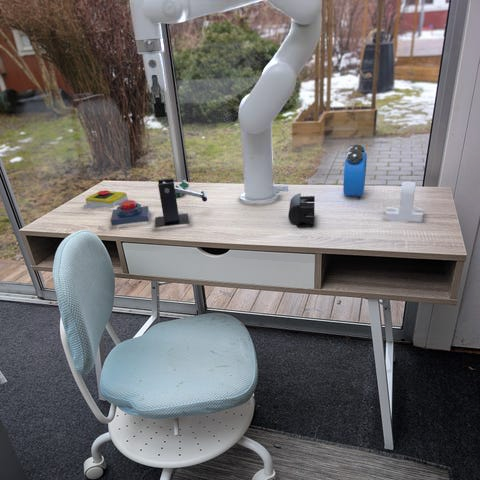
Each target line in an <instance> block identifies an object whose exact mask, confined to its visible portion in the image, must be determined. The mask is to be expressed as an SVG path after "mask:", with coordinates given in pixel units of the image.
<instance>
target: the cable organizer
mask: <svg viewBox="0 0 480 480" xmlns="http://www.w3.org/2000/svg"><path fill="white" fill-rule="evenodd" d="M416 185H417V182H416V181H402V182H401V187H400V189H401V190H400V197H399V205H398V206H387V207H386V211H385V216H384V220H386V221H399V222H401V221H402V222H414V223H415V222H418V223H422V222H423V219H424V211H425V209H424V208H423V207H414V200H415V194H416V193H415V192H416Z"/></svg>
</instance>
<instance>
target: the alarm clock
mask: <svg viewBox="0 0 480 480" xmlns="http://www.w3.org/2000/svg"><path fill="white" fill-rule="evenodd" d="M365 150H366V149H365V147H364V146H363V145H362V144H360V143H359V144H358V143H356V144H352V145H351V146H350V147H349V148H348V152H346V154H345V159H344V170H343V182H342V183H343V185H342V186H343V187H342V189H343V190H342V191H343V195H344V196H345V197H347V196H348V197H358V199H359V200H361V197H363V195H364V192H365V185H366V174H367V162H368V161H367V159H368V155H367V152H366V151H365Z"/></svg>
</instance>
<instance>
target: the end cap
mask: <svg viewBox="0 0 480 480" xmlns="http://www.w3.org/2000/svg"><path fill="white" fill-rule="evenodd" d="M301 195H302V194H301V192H300V193H296V194H294V195H293V196H292V197H291V198H290V201H289V207H288V220H289V222H290V223H291V224H292V225H293V226H295V227H297V228H301V229H304V228H305V229H308V228H309V229H311V228H315V210H316V209H315V201H316V200H315V199H316V196H315V195H305V196H304V195H302V196H301Z"/></svg>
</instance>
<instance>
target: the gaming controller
mask: <svg viewBox="0 0 480 480" xmlns="http://www.w3.org/2000/svg"><path fill="white" fill-rule="evenodd" d="M189 186H190V184H189V181H187V180H186V179H183V181H182V182H180V183H179V184H177V185H175V187H176V188H180V189H184V190H188V189H187V188H188V187H189ZM175 193H176V197H181V196H182V195H183V194H182V193H178V192H175Z"/></svg>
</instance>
